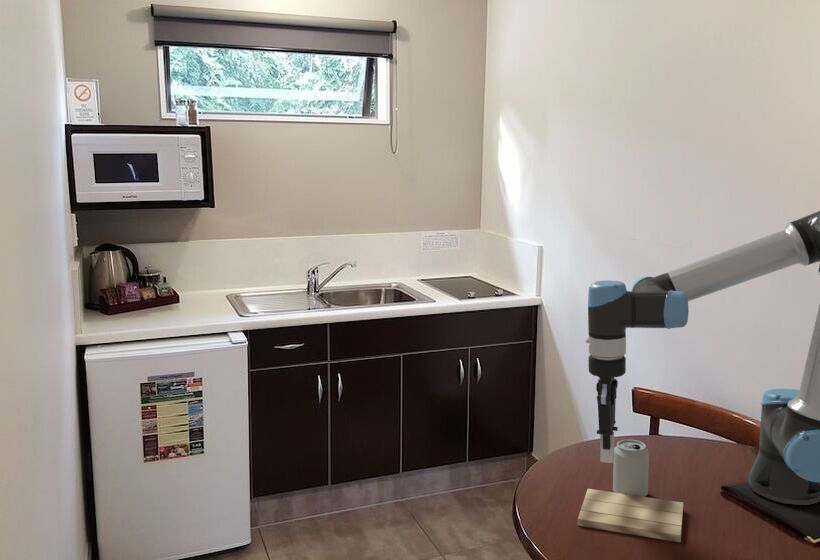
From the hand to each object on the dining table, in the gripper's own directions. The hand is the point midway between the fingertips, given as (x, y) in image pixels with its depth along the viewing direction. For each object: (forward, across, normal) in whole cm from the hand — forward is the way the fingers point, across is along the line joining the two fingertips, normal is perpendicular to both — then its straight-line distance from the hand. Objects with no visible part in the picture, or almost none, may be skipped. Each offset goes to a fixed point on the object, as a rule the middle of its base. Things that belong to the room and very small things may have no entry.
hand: (607, 461), depth 156 cm
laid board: (+11, +8, +5) cm, 14 cm away
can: (+11, -7, +4) cm, 14 cm away
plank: (+10, +1, +5) cm, 12 cm away
